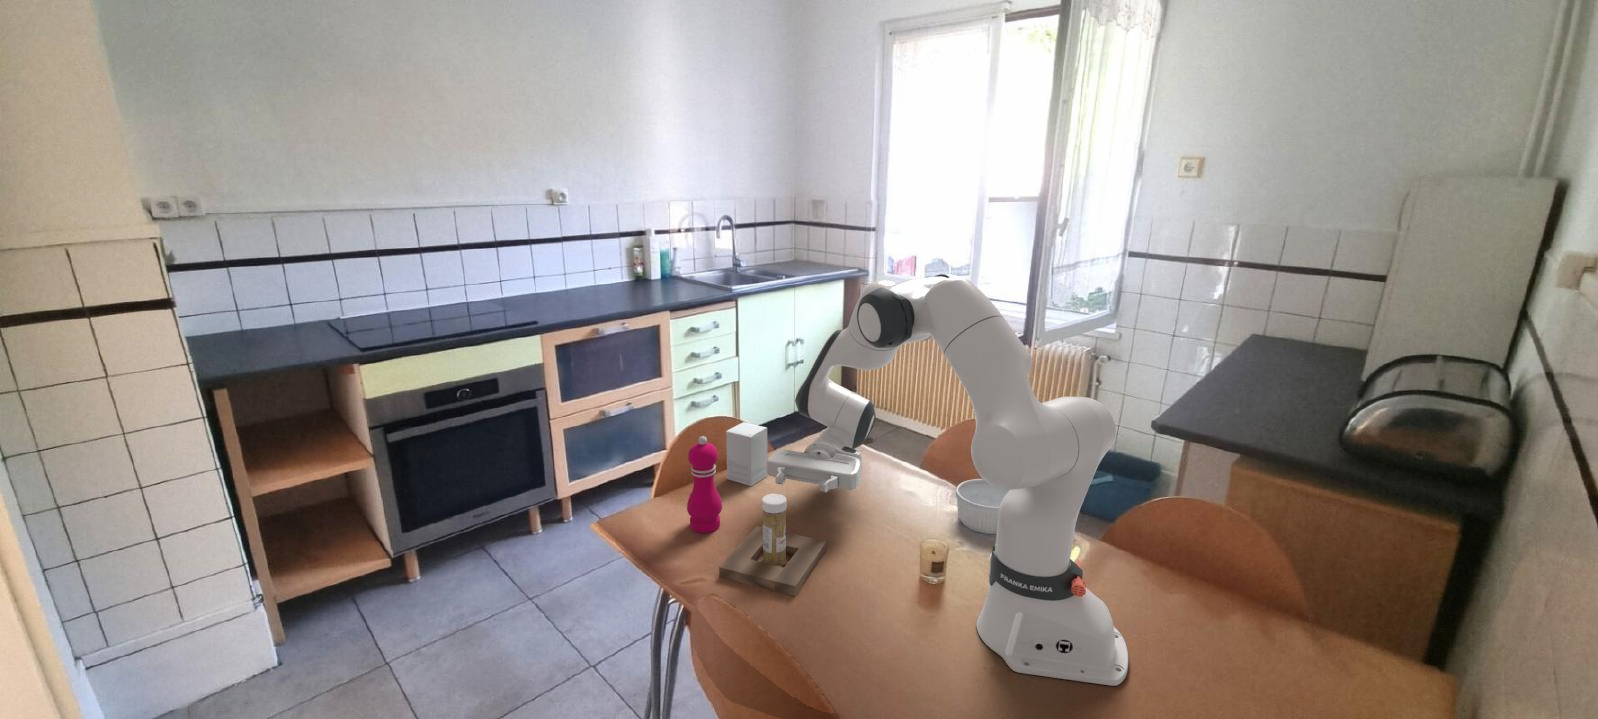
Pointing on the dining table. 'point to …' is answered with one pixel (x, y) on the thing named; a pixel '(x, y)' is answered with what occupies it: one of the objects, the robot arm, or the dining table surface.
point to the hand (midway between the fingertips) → (800, 484)
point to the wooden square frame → (771, 576)
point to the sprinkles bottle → (774, 529)
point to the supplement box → (746, 453)
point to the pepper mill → (704, 488)
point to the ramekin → (979, 505)
